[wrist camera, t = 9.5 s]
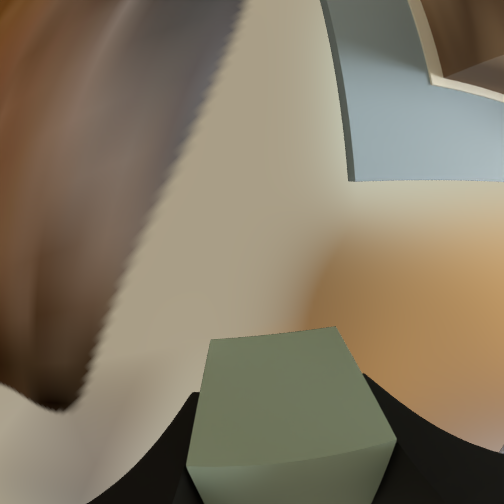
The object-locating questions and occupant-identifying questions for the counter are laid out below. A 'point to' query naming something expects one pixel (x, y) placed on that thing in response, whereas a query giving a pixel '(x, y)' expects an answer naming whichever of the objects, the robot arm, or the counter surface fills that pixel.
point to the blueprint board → (407, 99)
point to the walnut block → (469, 40)
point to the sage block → (287, 423)
